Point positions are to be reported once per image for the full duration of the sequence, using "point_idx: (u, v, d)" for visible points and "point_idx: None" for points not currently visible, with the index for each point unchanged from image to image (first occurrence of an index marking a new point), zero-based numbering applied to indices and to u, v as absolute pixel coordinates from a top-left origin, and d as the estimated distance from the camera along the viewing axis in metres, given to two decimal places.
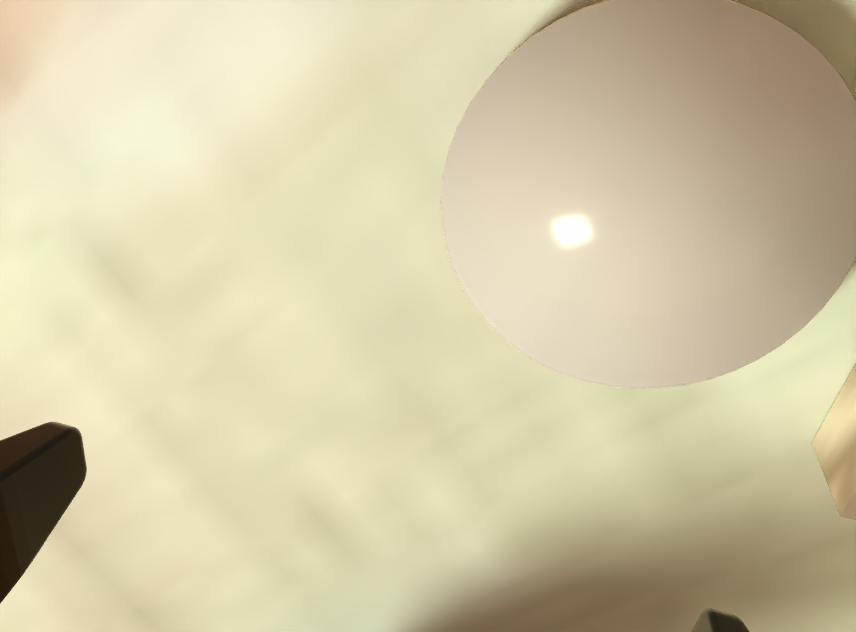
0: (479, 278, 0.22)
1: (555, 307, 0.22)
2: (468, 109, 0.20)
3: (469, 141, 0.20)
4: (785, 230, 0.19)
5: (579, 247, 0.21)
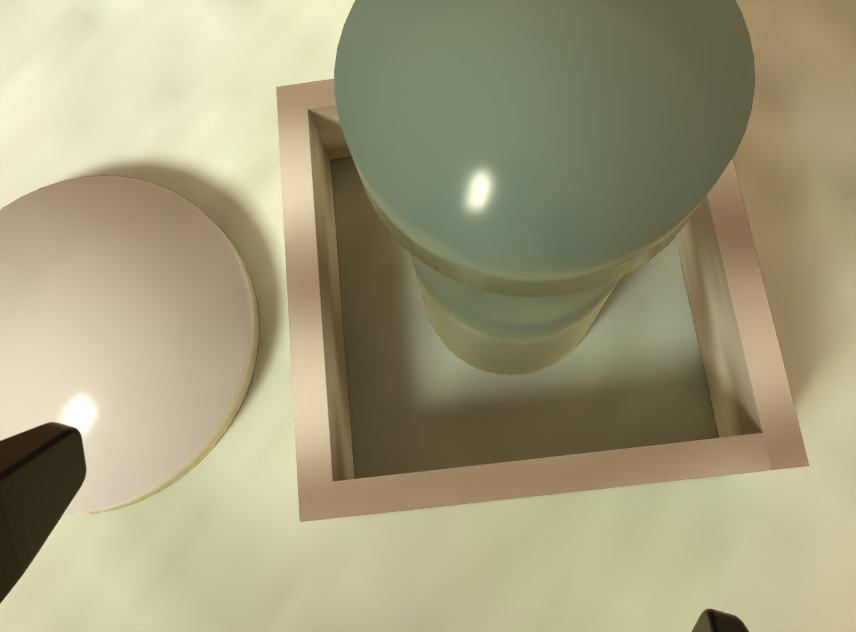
0: None
1: None
2: None
3: None
4: (189, 305, 0.24)
5: (35, 376, 0.23)
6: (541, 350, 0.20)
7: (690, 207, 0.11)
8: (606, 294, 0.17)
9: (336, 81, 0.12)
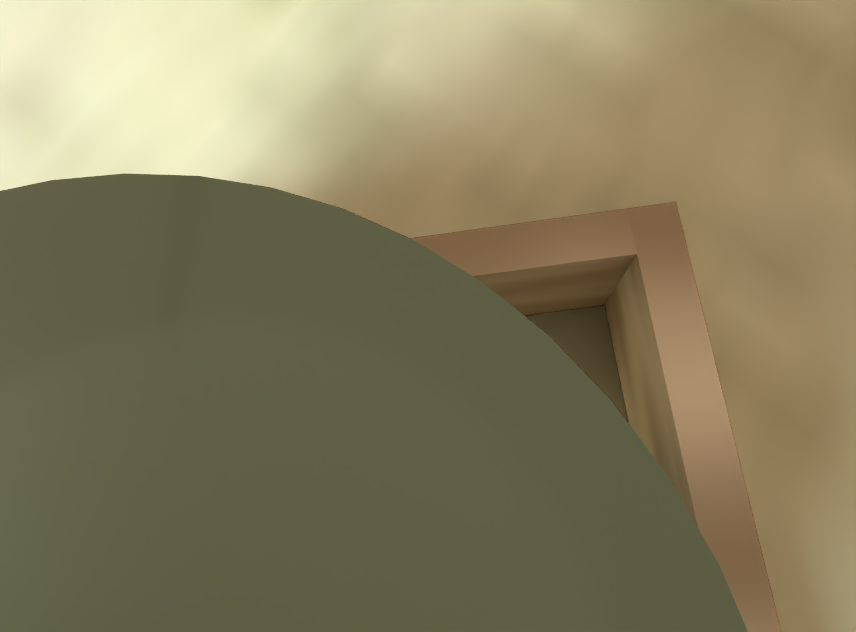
0: None
1: None
2: None
3: None
4: None
5: None
6: None
7: None
8: None
9: None
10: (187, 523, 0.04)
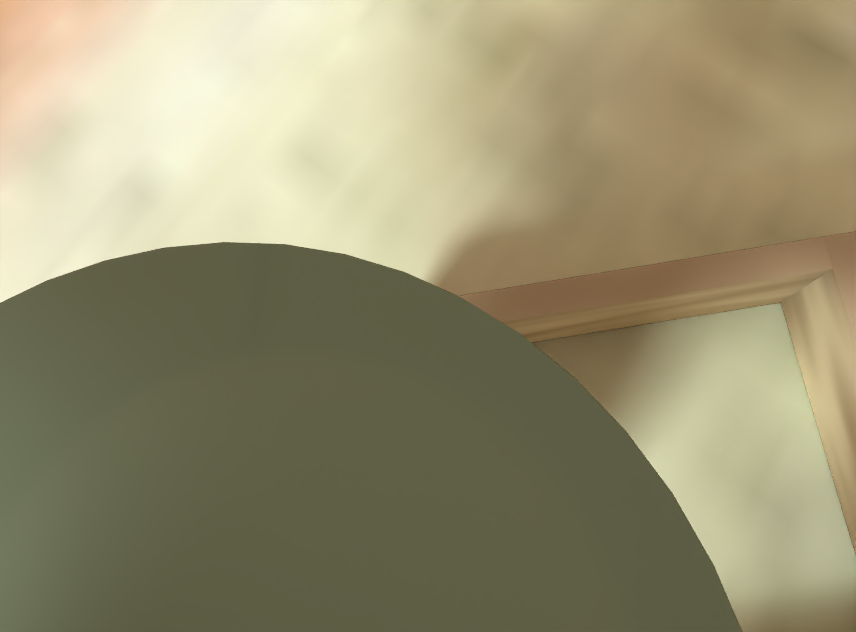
0: None
1: None
2: None
3: None
4: None
5: None
6: None
7: None
8: None
9: None
10: (287, 530, 0.04)
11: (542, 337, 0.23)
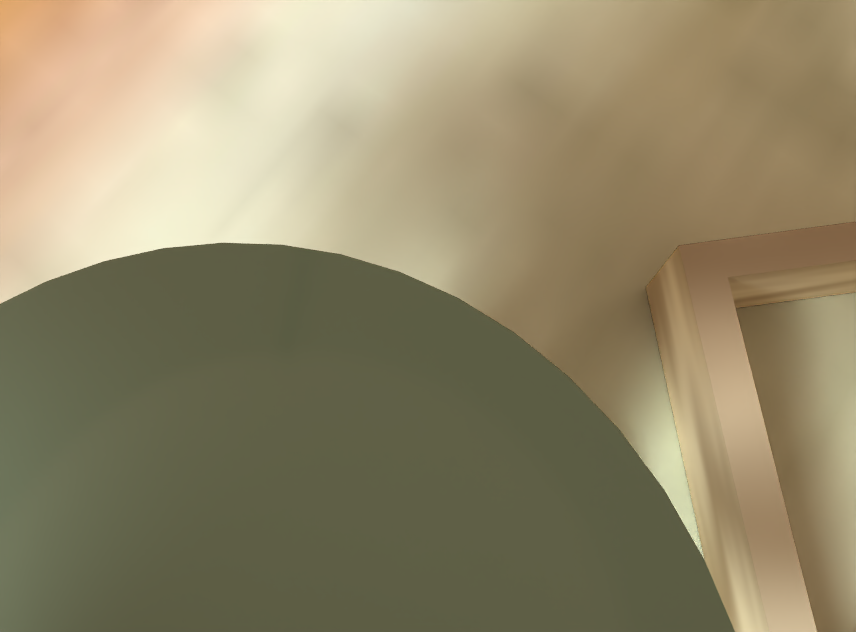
0: None
1: None
2: None
3: None
4: None
5: None
6: None
7: None
8: None
9: None
10: (283, 527, 0.04)
11: (824, 292, 0.20)
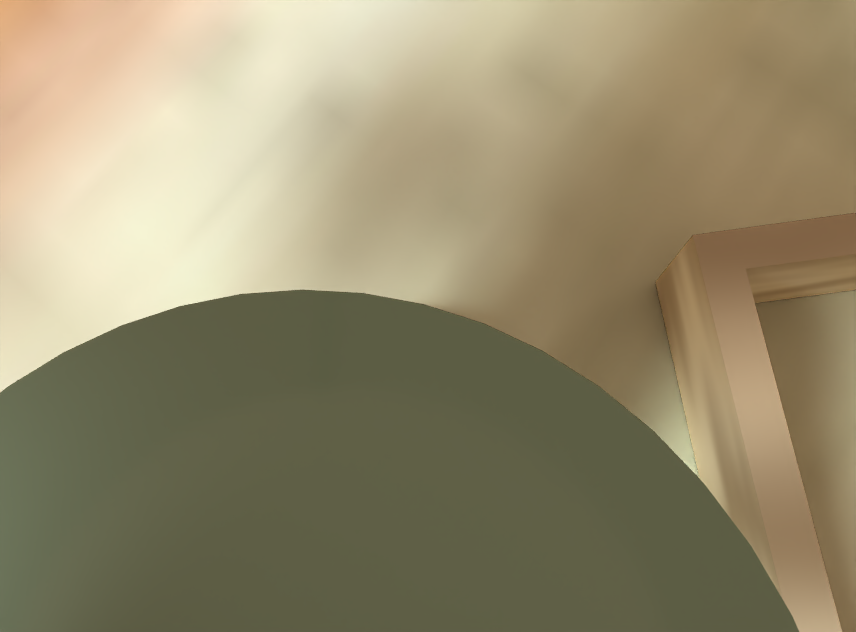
0: None
1: None
2: None
3: None
4: None
5: None
6: None
7: None
8: None
9: None
10: (375, 580, 0.04)
11: (845, 286, 0.19)
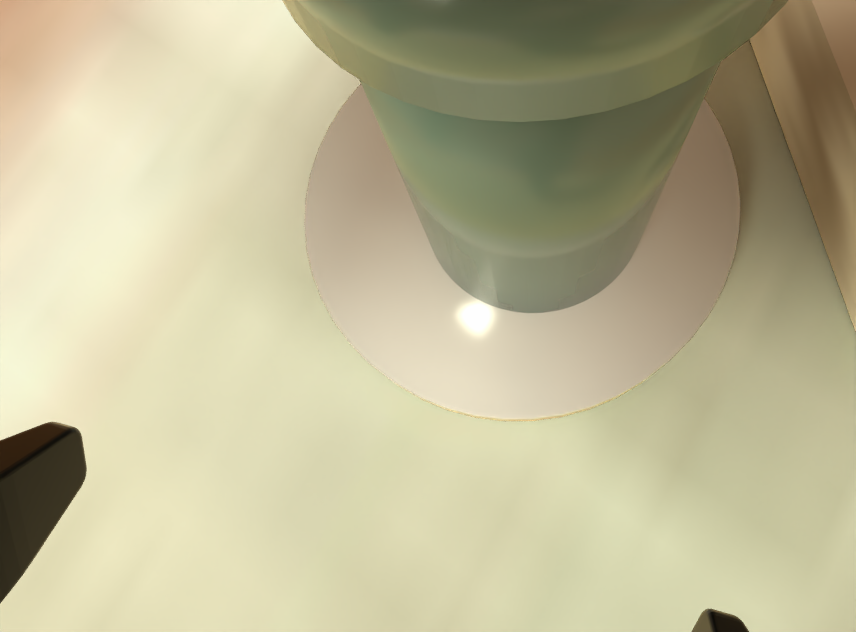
0: (382, 340, 0.19)
1: (478, 334, 0.18)
2: (310, 179, 0.20)
3: (321, 205, 0.20)
4: None
5: None
6: (580, 266, 0.15)
7: None
8: (668, 162, 0.12)
9: None
10: None
11: None
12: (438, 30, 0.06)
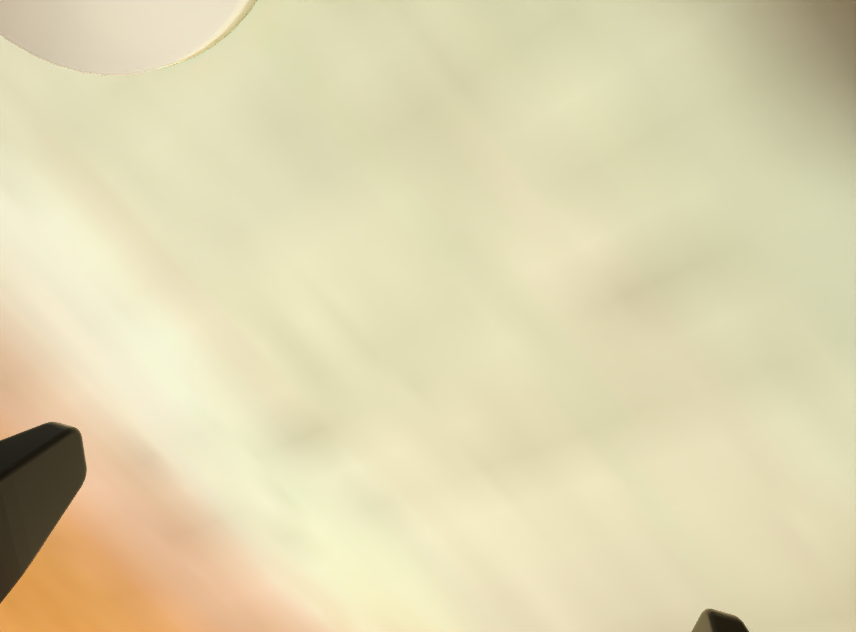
0: (174, 29, 0.19)
1: None
2: (15, 43, 0.20)
3: (42, 42, 0.20)
4: None
5: None
6: None
7: None
8: None
9: None
10: None
11: None
12: None
